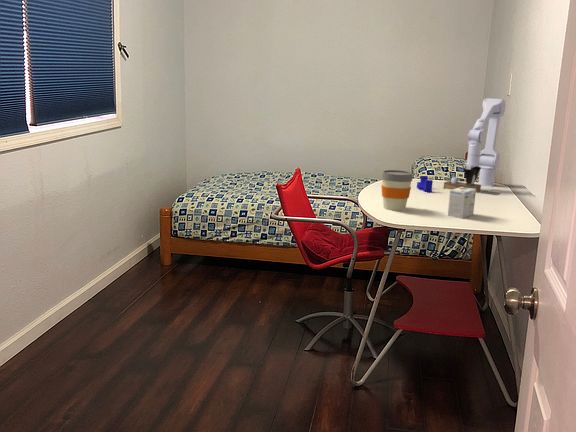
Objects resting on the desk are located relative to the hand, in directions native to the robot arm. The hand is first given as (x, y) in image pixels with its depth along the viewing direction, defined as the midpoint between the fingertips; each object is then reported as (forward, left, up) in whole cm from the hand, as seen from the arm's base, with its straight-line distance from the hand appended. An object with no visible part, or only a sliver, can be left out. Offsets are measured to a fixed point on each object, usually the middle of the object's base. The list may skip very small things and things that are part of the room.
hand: (470, 182), depth 316 cm
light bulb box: (+58, +12, -4) cm, 59 cm away
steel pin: (0, 0, -4) cm, 4 cm away
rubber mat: (0, +10, -4) cm, 11 cm away
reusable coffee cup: (+64, -14, -4) cm, 66 cm away
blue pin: (0, -8, -4) cm, 9 cm away
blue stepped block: (+14, -18, -5) cm, 24 cm away
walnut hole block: (0, -4, -4) cm, 6 cm away
